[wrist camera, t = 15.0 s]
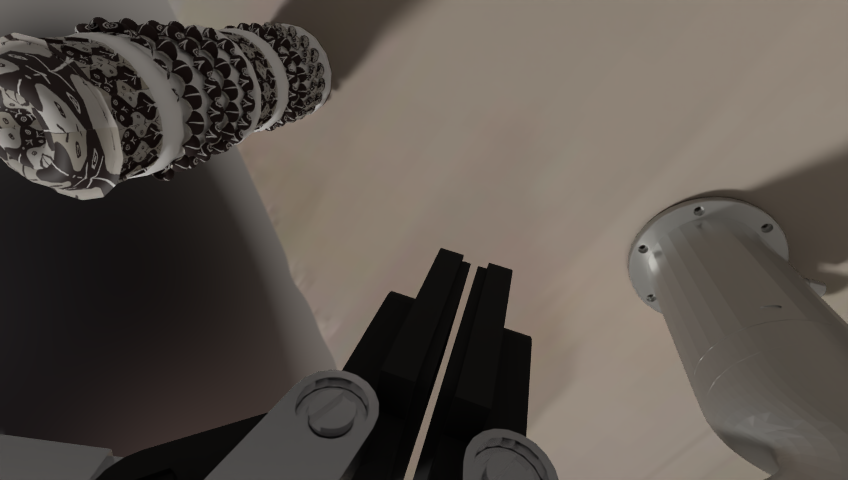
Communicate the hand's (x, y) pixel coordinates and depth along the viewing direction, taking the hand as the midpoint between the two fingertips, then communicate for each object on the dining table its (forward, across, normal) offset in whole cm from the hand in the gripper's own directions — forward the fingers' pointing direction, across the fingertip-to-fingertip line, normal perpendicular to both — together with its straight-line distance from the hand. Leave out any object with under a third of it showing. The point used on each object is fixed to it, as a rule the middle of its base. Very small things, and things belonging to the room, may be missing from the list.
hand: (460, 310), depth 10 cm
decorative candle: (+32, +22, +3) cm, 39 cm away
